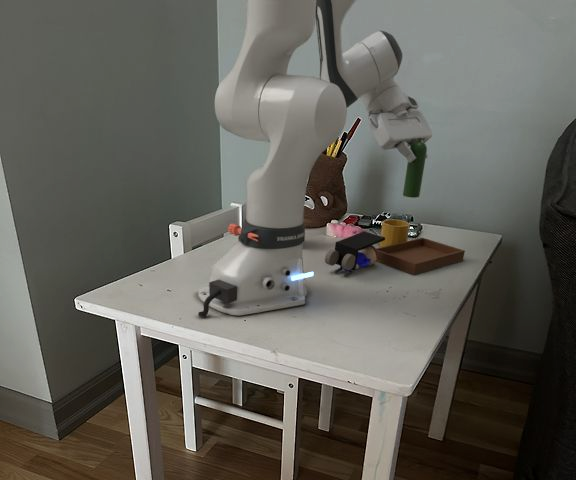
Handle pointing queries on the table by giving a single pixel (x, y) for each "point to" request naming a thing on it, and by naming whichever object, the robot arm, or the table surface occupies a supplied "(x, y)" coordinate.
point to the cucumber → (415, 170)
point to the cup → (394, 232)
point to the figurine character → (354, 252)
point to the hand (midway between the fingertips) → (419, 159)
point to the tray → (419, 255)
